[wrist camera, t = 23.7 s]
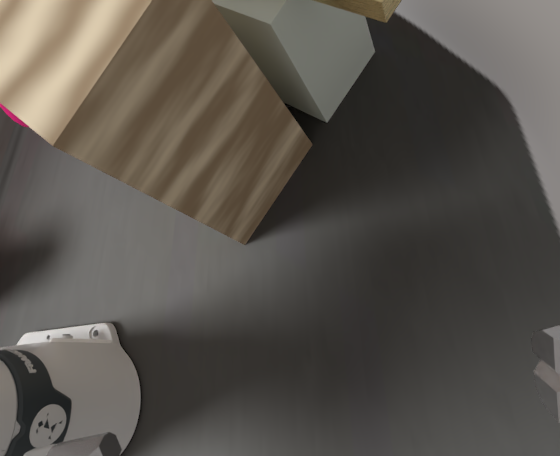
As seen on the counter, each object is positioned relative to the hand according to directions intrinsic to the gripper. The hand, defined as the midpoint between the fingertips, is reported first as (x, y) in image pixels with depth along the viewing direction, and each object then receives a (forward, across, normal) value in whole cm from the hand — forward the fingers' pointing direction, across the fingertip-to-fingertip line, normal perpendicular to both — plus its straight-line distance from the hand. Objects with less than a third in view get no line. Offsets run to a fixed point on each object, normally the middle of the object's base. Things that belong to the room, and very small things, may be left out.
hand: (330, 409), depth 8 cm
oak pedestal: (+46, +4, -1) cm, 47 cm away
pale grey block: (+48, -8, -10) cm, 50 cm away
